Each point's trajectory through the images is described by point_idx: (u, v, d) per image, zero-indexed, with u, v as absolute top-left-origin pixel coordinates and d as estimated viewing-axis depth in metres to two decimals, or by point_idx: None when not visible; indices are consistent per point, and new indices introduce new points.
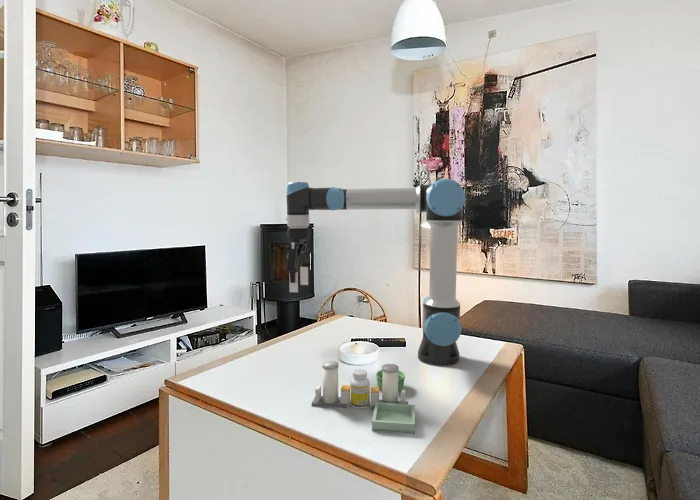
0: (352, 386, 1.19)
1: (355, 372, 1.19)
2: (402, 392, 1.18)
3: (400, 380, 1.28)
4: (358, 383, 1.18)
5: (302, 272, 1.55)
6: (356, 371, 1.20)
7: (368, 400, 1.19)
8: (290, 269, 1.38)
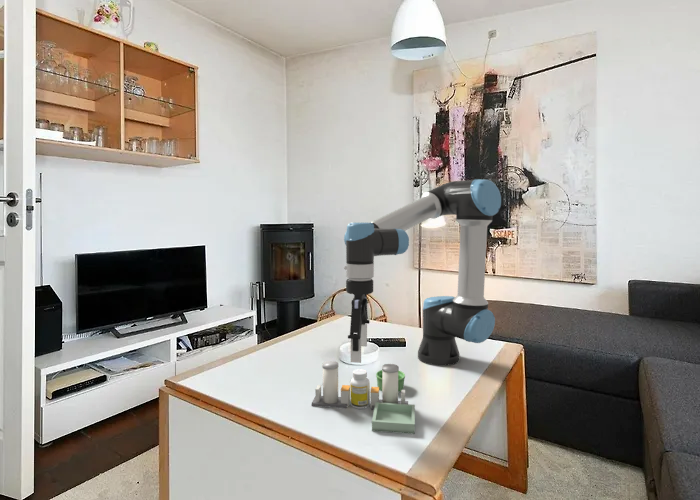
0: (352, 386, 1.19)
1: (355, 372, 1.19)
2: (402, 392, 1.18)
3: (400, 380, 1.28)
4: (358, 383, 1.18)
5: (360, 331, 1.25)
6: (356, 371, 1.20)
7: (368, 400, 1.19)
8: (354, 335, 1.08)
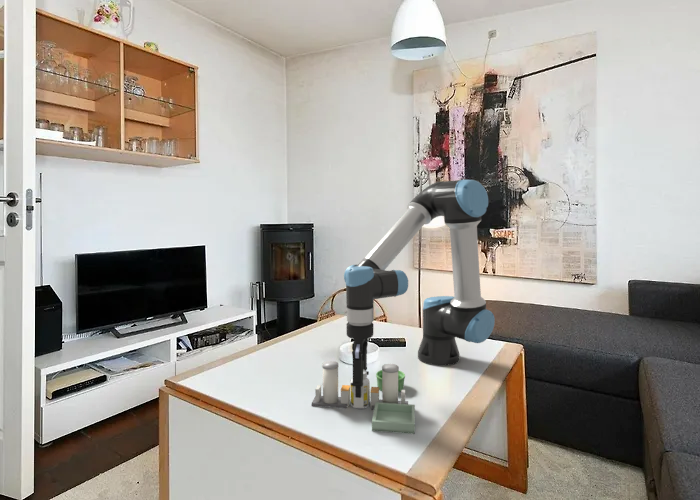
0: (352, 386, 1.19)
1: None
2: (402, 392, 1.18)
3: (400, 380, 1.28)
4: None
5: None
6: None
7: (368, 400, 1.19)
8: (357, 383, 1.14)
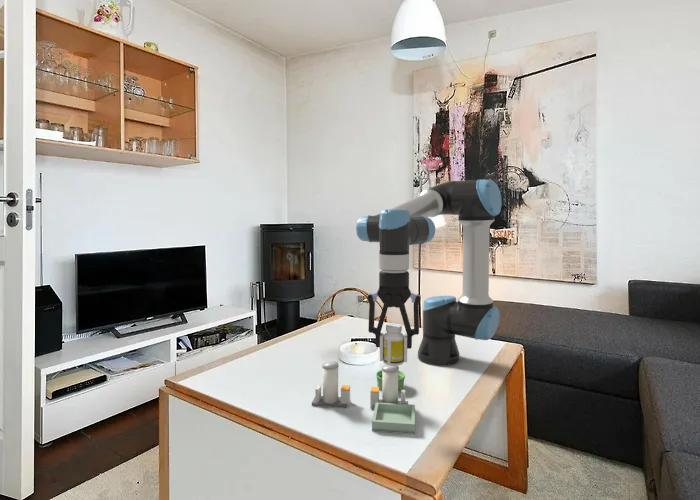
0: None
1: (391, 324, 1.10)
2: (402, 392, 1.18)
3: (400, 380, 1.28)
4: None
5: None
6: (394, 324, 1.10)
7: (389, 358, 1.07)
8: None
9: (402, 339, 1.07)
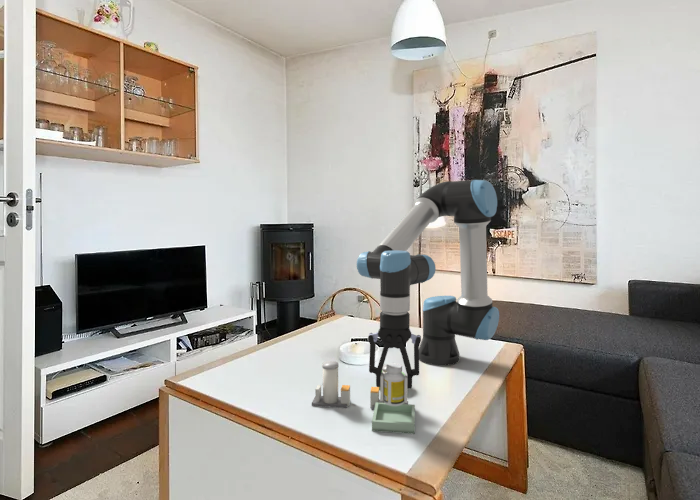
0: None
1: (391, 364, 1.11)
2: None
3: None
4: (384, 374, 1.10)
5: None
6: (394, 364, 1.11)
7: (389, 399, 1.08)
8: None
9: (402, 380, 1.08)
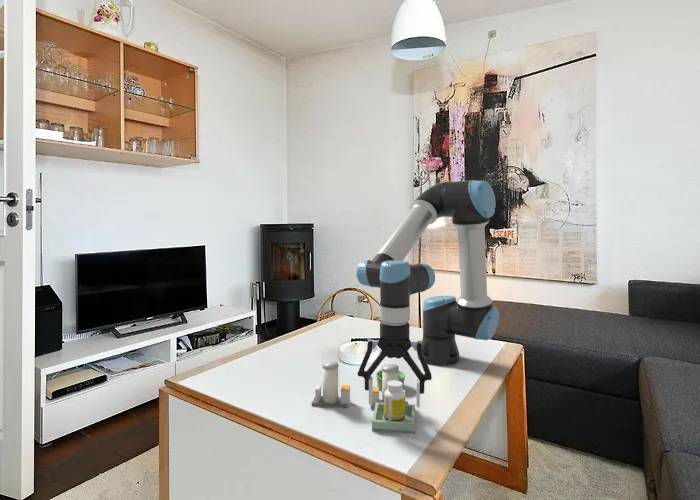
0: None
1: (392, 381, 1.11)
2: None
3: (400, 380, 1.28)
4: (385, 391, 1.11)
5: None
6: (395, 381, 1.11)
7: (390, 416, 1.09)
8: None
9: (403, 397, 1.09)
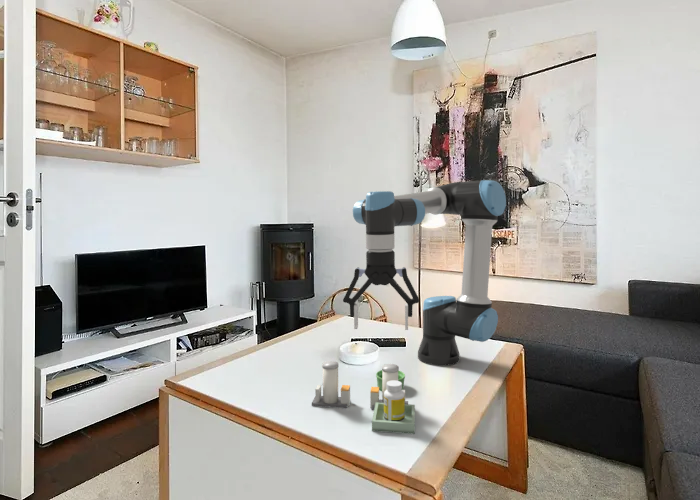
0: None
1: (391, 381, 1.11)
2: None
3: (400, 380, 1.28)
4: (384, 392, 1.11)
5: None
6: (394, 381, 1.11)
7: (390, 416, 1.09)
8: None
9: (402, 397, 1.09)
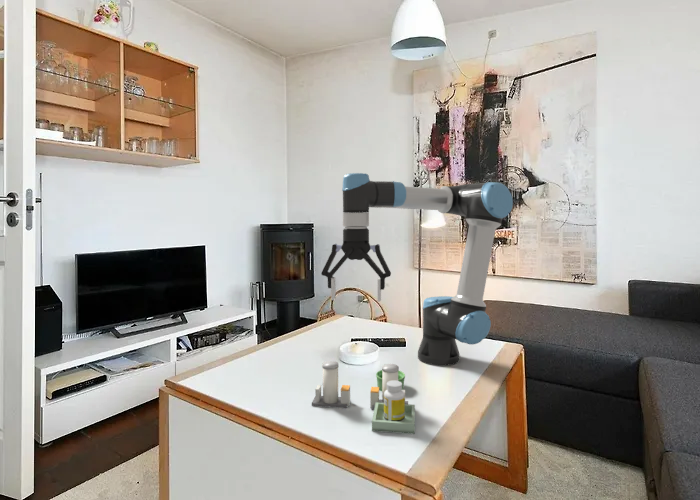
0: None
1: (391, 381, 1.11)
2: None
3: (400, 380, 1.28)
4: (384, 392, 1.11)
5: None
6: (394, 381, 1.11)
7: (390, 416, 1.09)
8: None
9: (403, 397, 1.09)
